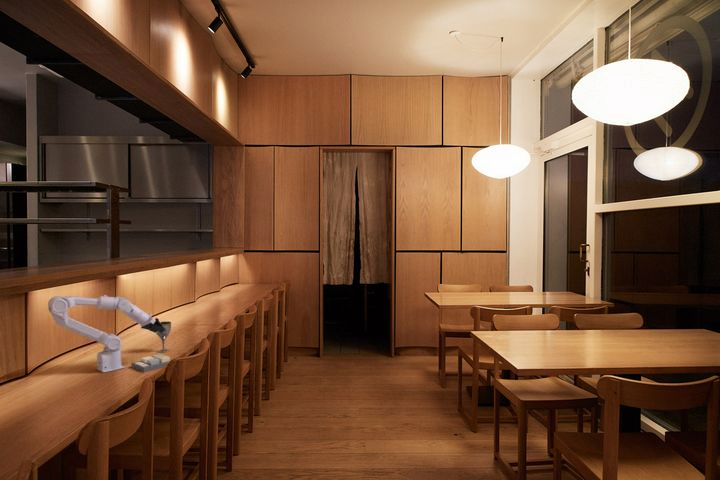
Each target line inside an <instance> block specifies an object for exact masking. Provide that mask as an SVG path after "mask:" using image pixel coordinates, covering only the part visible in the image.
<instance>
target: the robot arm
mask: <svg viewBox="0 0 720 480" xmlns="http://www.w3.org/2000/svg"><path fill="white" fill-rule="evenodd" d="M47 306H48V307H47V308H48V311H49V313H50V314H51V317H52V319H53V321H54V322H55V324H56V325H57V326H58V327H60V328H61V327H62V328H63V329H66V330H69V331H71V332H74V333H76V334H78V335H81V336H83V337H86V338H88V339H90V340H93V341H95V342H97V343H99V344H100V345H101V344H102V345H103V346H104V347H103V350H102V351H99V352H97V354H96V370H97V371H99V372H101V373H107V372H112V371H116V370H121V369H124V368H126V366H124V365H122V347H121V346H122V339H121V338H120V337H119V336H118V335H116V334H115V333H109V332H108V333H107V332H106V331H102V330H99V329H97V328H95V327H92V326H90V325H87V324H85V323H83V322H81V321H78V320H76V319H73V318H72V317H69V314H68V308H69V309H71V308H73V307H75V306H93V307H96V308H97V309H99V310H111V311H113V310H117V311H119V312H122V313H123V314H125V315H126V316H127V317H128V318H130V319H131V320H133V321H134V322H136V324H138V325H139V326H141V327H140V329H144V330H148V331H150V332H153V333H155V334H156V332H157V331H159V332H162V333H163V331H164V330H165V328H164V327H163V326H162V325H161V323H160V322H161V321H160V320H159V319H160V318H158V317H156V318H155V319H154V318H153V317H152V313H149V314H148V313H147V312H146V311H144V310H142V309H141V308H140V307H138V306H136V304H133V303H132V302H131V301H130V300H129V299H127V298H125V297H122V296H115V297H114V296H108V295H106V294H104V295H101V296H98V297H97V298H94V297H93V298H91V297H84V296H83V297H82V296H72V295H68V296H67V295H63V296H60V295H55V296H52V297H51V298H50V299H49V300H48V302H47Z"/></svg>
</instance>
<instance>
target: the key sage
mask: <svg viewBox="0 0 720 480" xmlns="http://www.w3.org/2000/svg"><path fill="white" fill-rule="evenodd" d="M163 356H165V355H164V354H163V353H157V354H155V355H151V357H153V358H156V359H158V357H163Z"/></svg>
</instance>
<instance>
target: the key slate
mask: <svg viewBox="0 0 720 480" xmlns="http://www.w3.org/2000/svg"><path fill="white" fill-rule="evenodd" d="M147 364H148V365H155V364H159V359H156V358H154V359H150V360H147Z"/></svg>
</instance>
